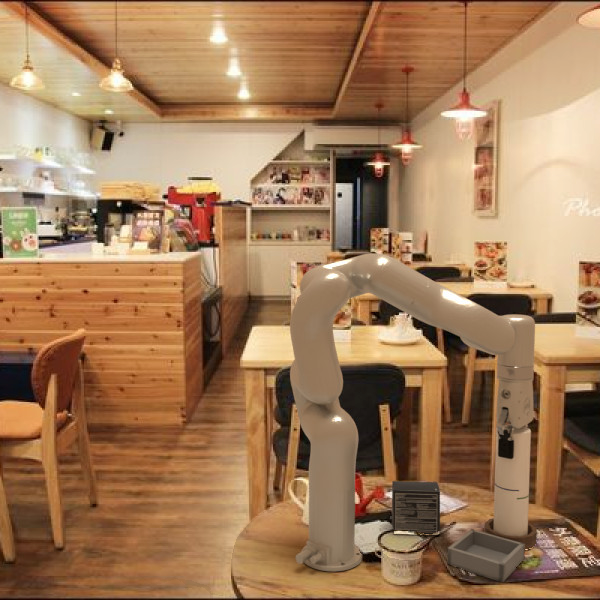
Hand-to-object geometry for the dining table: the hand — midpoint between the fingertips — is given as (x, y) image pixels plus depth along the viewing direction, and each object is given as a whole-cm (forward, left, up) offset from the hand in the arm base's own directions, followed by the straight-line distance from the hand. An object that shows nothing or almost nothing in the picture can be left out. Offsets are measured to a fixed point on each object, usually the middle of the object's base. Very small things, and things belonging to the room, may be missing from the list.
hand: (512, 452), depth 147 cm
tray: (-13, 0, -20) cm, 24 cm away
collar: (0, 0, -20) cm, 20 cm away
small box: (-8, +19, -20) cm, 29 cm away
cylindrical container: (0, 0, -20) cm, 20 cm away
